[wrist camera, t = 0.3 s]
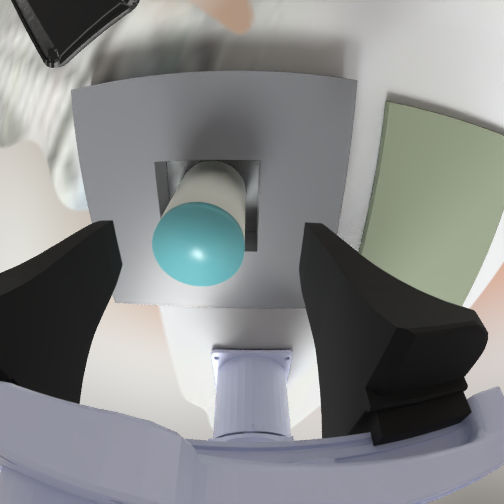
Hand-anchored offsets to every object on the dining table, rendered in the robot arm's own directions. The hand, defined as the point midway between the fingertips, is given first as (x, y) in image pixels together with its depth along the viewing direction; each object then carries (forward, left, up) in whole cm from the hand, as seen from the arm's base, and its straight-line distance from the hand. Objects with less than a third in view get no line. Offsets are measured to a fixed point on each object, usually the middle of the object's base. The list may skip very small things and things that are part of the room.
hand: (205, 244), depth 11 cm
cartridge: (-2, +1, -9) cm, 10 cm away
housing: (-2, +1, -9) cm, 10 cm away
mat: (-5, -17, -9) cm, 20 cm away
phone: (+16, +12, -10) cm, 22 cm away
